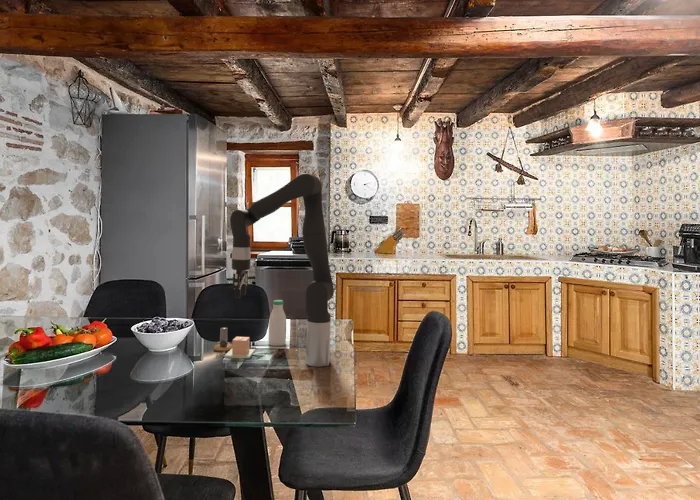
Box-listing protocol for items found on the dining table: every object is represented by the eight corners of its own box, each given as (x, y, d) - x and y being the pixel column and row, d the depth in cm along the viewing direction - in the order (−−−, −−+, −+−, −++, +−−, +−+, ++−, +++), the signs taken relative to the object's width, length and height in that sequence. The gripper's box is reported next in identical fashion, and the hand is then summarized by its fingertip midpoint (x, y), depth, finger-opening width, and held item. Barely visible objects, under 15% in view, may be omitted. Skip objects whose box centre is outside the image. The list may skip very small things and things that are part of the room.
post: (235, 346, 191) (235, 326, 190) (229, 352, 183) (230, 331, 182) (217, 345, 191) (217, 325, 190) (211, 351, 183) (211, 330, 182)
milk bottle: (284, 346, 193) (285, 302, 192) (266, 346, 193) (267, 301, 192) (286, 342, 201) (288, 299, 200) (270, 341, 201) (271, 298, 200)
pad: (255, 351, 185) (255, 349, 185) (249, 358, 176) (249, 356, 175) (232, 350, 186) (232, 348, 186) (224, 357, 176) (224, 355, 176)
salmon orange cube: (249, 350, 183) (249, 336, 183) (245, 354, 178) (246, 340, 177) (236, 350, 183) (236, 335, 183) (232, 354, 178) (232, 339, 177)
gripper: (245, 259, 173) (244, 300, 174) (254, 257, 187) (253, 294, 188) (227, 259, 173) (226, 299, 174) (237, 256, 187) (236, 293, 188)
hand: (240, 296), depth 181 cm, fingers open, 8 cm apart
